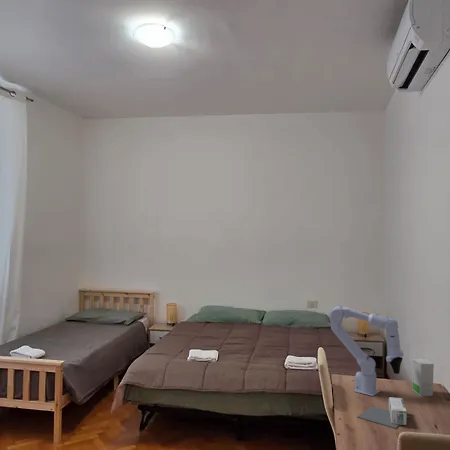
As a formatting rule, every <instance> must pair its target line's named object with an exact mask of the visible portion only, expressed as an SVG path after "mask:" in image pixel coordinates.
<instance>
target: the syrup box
mask: <svg viewBox="0 0 450 450" xmlns="http://www.w3.org/2000/svg"><path fill="white" fill-rule="evenodd" d="M388 410H389V414H390V418H391V423H393V424H401V425H403V426H407V419H406V415H407V409H406V405H405V401H404V398H402V397H391V396H390V397H388Z"/></svg>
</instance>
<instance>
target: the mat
mask: <svg viewBox="0 0 450 450" xmlns="http://www.w3.org/2000/svg"><path fill="white" fill-rule="evenodd" d="M356 418H358V419H361V420H363V421H368V422H372V423H376V424H378V425H381V426H385V427H388V428H391V429H397V428H398V427H400V425H401V424H393V423H391V418H390V414H389V409H386V408H382V407H381V408H380V407H377V406H374V405H372V406H370V407H369V408H367V409H366V410H365V411H363V412H362V413H360V414H359V415H357V417H356ZM407 418H408V419H409V418H410V415H407V414H406V420H408V419H407Z"/></svg>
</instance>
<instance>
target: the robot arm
mask: <svg viewBox="0 0 450 450" xmlns="http://www.w3.org/2000/svg"><path fill="white" fill-rule="evenodd" d="M328 318H329V324H330V329H331V331H332V332H333V334H335V336H336V338H338V340H339V341H340V342H341V343H342V344H343V346H344V347H345V348H346V349H347V351H349V352H350V354H351V355H352V356H353V358H355V360H356V363H357V364H358V366H359V367H360V371H357V372H356V373H355V376H354V378H355V379H354V392H356V393H359V394H364V395H367V396H371V397H374V396H376V395H377V394H378V393H380V392H381V391H380V390H378V389H377V372H376V366H377V364H376V361H375V360H374V359H373V357H370V356H369V355H368V354H367V353H366V352H364V351H363V350H362V349H361V347H360V346H359V345H358V344H357V343H356V342H355V340H354V339H353V338H352V337H351V336H350V334H349V333H348V332H347V331H346V329H345V328H344V327H343V319H348V318H349V319H350V318H354V319H357V320H361V321H366V322H367V323H368V324H369V325H370V326H373V327H376V328H379V329H383V330H385V333H386V335H385V337H386V338H385V339H386V347H387V356H386V357H385V360H386V362H388V363H389V364H390V366H391V368H392V372H393V373H394V374H396V375H399V374H400V372H401V365H402V362H403V357H404V350H402V349H401V342H400V334H399V330H398V329H399V324H398V321H397V320H396V319H395V318H394V317H389V316H385V315H381V314H379V313H378V312H373V313H369V314H368V313H365V312H363V311H360V310H357V309H354V308H352V307H351V308H350V307H348V306H344V305H343V306H342V305H338V304H337V305H334V306H333V308H332V309H331V311H330V312H329V317H328Z"/></svg>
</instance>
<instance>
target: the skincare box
mask: <svg viewBox="0 0 450 450" xmlns="http://www.w3.org/2000/svg"><path fill="white" fill-rule="evenodd" d="M434 364H435V363H433V362H431V360H428V359H426V358H424V357H423V358H413V359H412V378H411V380H412V381H411V382H412V383H411V390H412V391H413V392H414V393H415V394H417V395H418V396H419V397H433V395H434V369H435V367H434Z"/></svg>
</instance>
